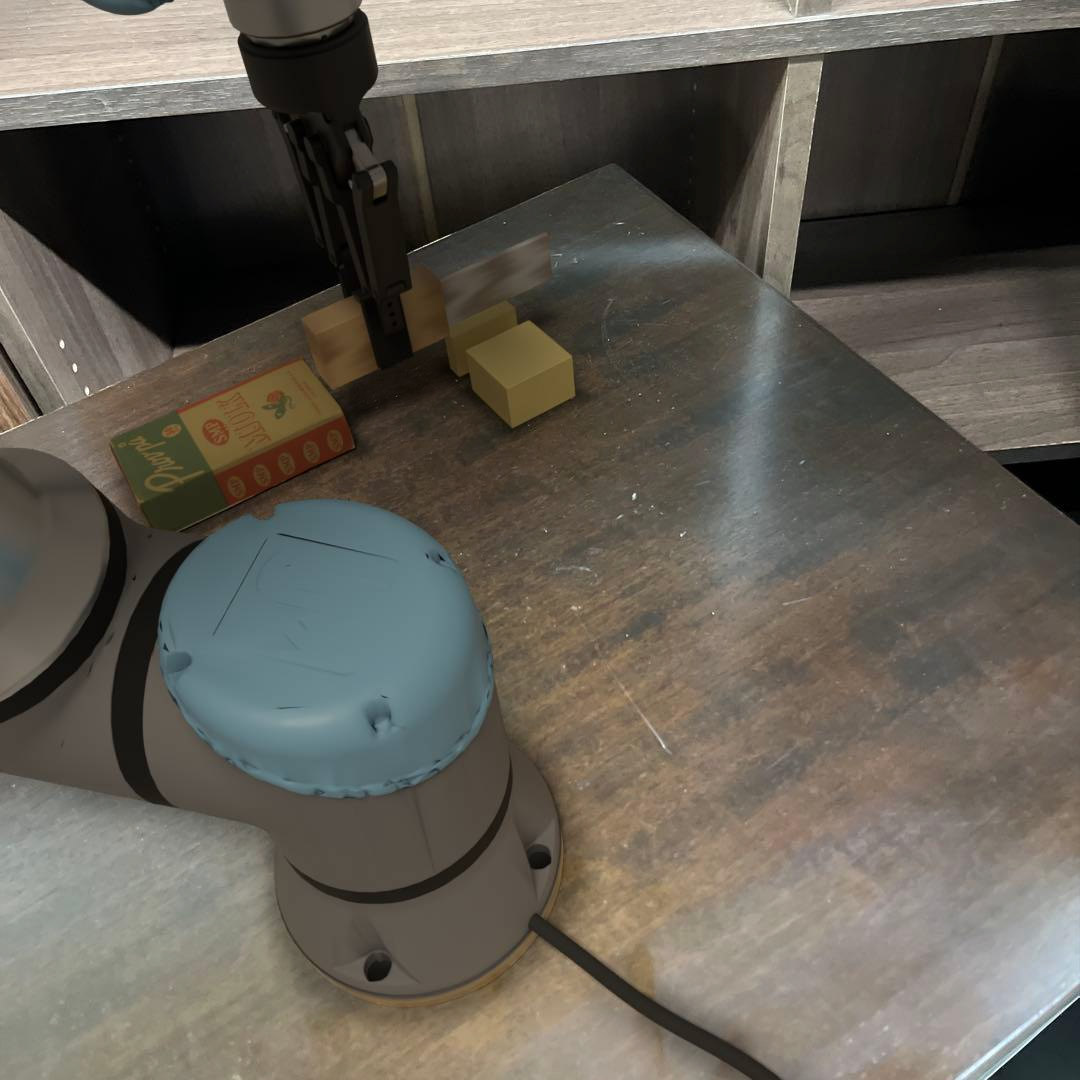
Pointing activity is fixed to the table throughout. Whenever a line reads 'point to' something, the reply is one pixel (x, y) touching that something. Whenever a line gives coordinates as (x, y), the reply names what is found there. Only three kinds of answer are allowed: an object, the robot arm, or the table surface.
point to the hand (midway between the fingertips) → (385, 350)
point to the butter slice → (477, 333)
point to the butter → (521, 373)
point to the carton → (231, 446)
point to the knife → (424, 308)
